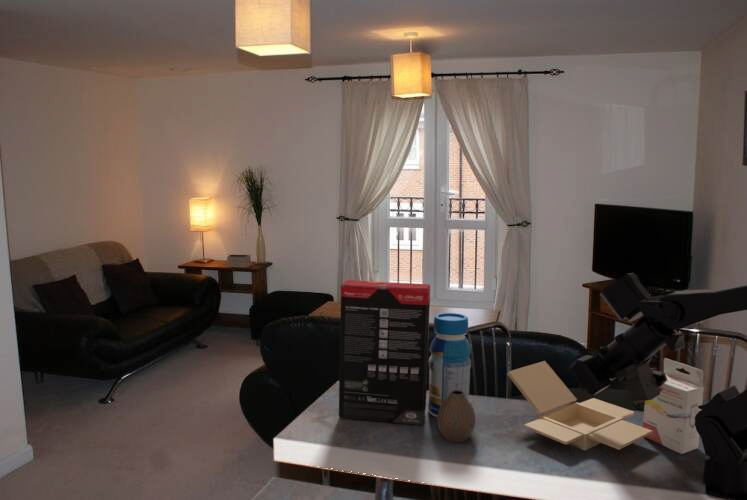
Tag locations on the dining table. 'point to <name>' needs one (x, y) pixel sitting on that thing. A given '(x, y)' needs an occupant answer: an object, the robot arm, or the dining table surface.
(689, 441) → the ink cartridge box
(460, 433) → the vase
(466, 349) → the beverage bottle
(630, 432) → the carton
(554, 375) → the flap
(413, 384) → the graphics card box
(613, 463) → the dining table surface
